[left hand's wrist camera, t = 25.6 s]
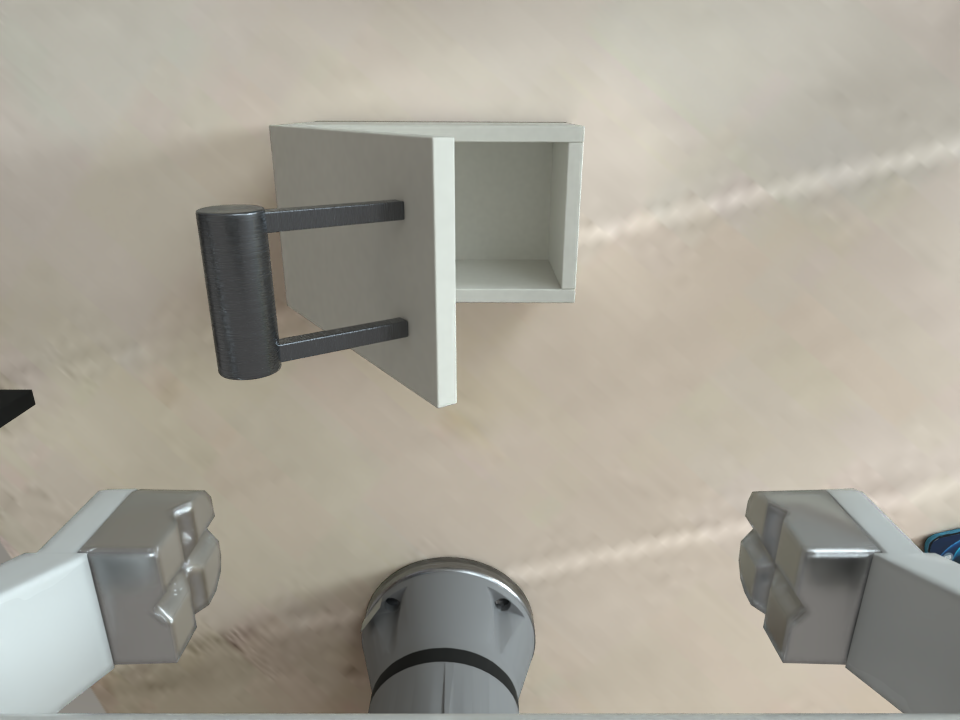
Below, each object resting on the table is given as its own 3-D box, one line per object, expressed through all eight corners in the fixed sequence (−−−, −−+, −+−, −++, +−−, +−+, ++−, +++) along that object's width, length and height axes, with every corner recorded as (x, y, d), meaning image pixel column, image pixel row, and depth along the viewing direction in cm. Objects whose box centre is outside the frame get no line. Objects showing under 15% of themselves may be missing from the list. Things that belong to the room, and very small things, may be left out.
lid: (455, 136, 23) (205, 142, 19) (457, 403, 27) (248, 460, 22) (285, 124, 37) (117, 126, 32) (301, 303, 40) (152, 326, 36)
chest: (564, 122, 46) (585, 125, 37) (558, 268, 49) (574, 303, 41) (317, 121, 46) (279, 124, 37) (328, 267, 49) (296, 302, 40)
